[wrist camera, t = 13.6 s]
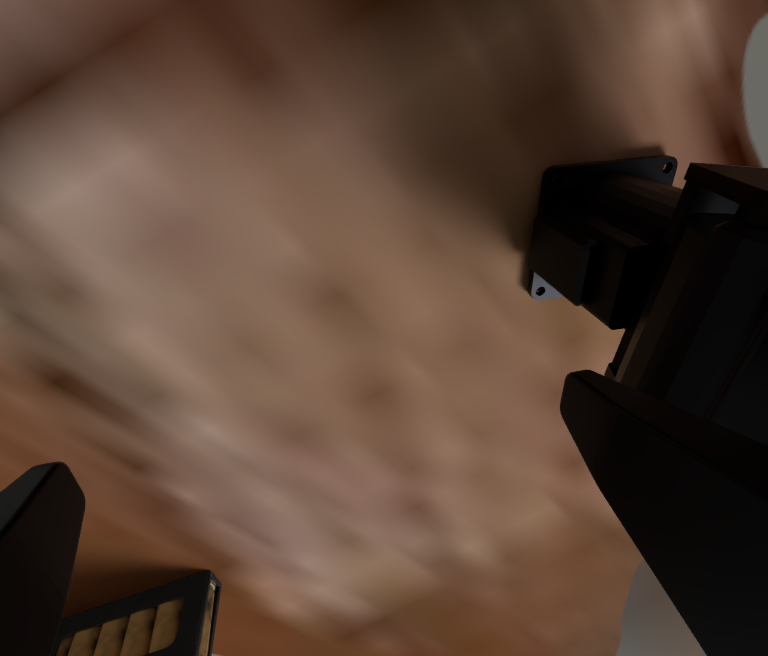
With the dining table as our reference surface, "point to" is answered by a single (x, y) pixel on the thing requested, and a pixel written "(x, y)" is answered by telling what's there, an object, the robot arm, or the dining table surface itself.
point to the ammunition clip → (147, 622)
